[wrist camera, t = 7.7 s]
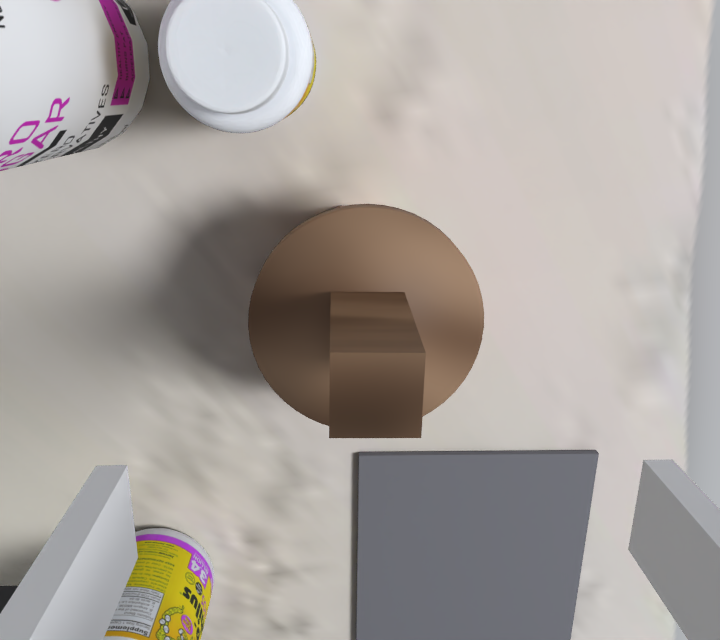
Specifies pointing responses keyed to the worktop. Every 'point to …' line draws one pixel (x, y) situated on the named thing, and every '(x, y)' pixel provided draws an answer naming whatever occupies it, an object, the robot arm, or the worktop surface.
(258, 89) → the supplement bottle
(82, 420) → the worktop surface
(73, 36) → the supplement can
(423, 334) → the lid
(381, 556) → the mat
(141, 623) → the supplement bottle
